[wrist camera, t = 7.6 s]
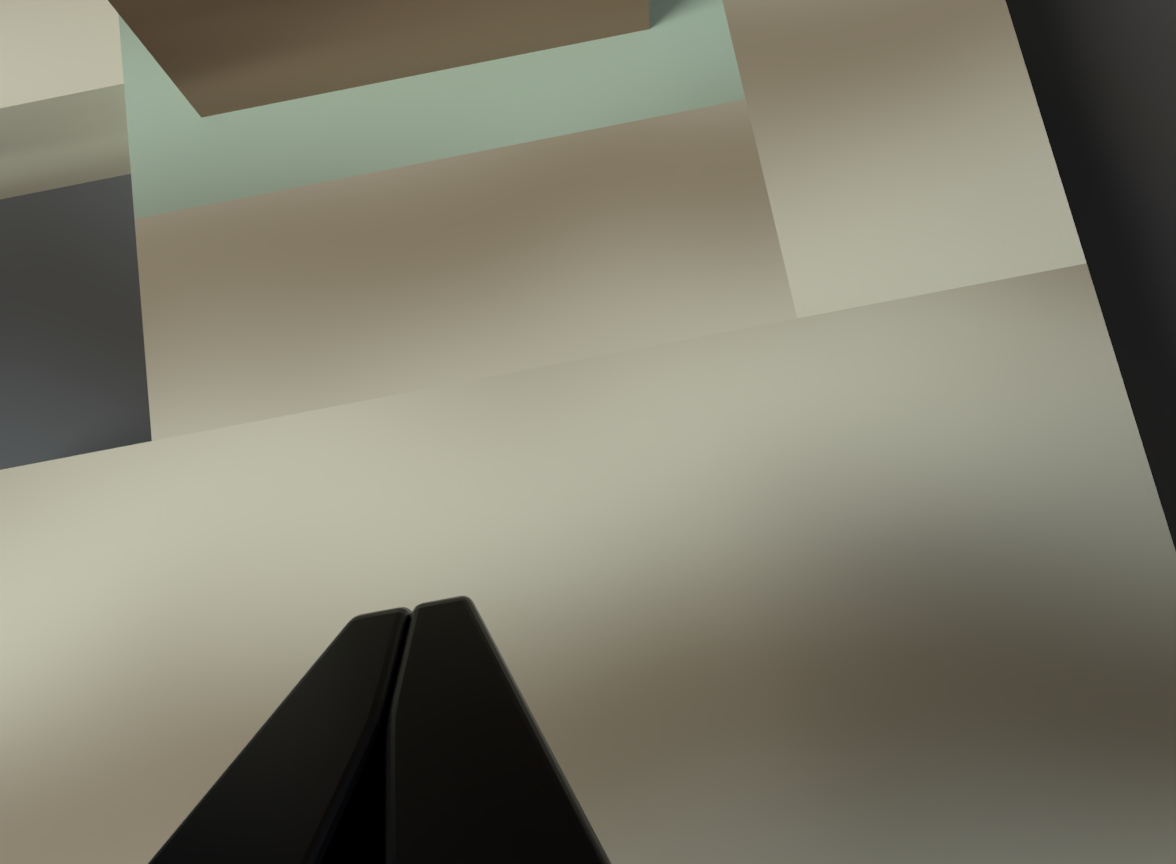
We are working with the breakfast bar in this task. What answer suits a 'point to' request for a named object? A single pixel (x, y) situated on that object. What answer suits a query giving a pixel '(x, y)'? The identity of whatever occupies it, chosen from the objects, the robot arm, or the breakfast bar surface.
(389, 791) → the robot arm
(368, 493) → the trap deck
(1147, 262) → the breakfast bar surface
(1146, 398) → the breakfast bar surface
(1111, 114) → the breakfast bar surface
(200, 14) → the walnut block
